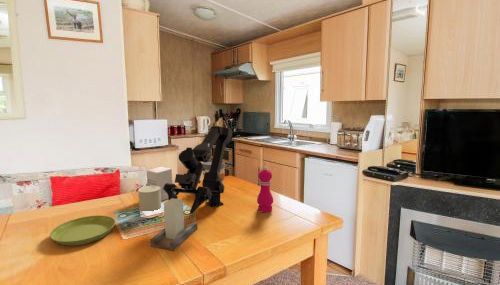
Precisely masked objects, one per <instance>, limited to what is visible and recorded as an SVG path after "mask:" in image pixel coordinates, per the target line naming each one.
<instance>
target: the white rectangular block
mask: <svg viewBox="0 0 500 285" xmlns="http://www.w3.org/2000/svg"><path fill="white" fill-rule="evenodd" d="M163 213H164V227H165V228H164V229H165V232H166V238H169V239H175V238H176V237H177V236H178V235H179V234H180V233H182V232H183V231H184V226H185V218H184V216H185V214H184V199H181V198H177V199H174V198H172V199H170V200H169V199H167V201H165V202H163Z"/></svg>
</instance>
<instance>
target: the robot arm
mask: <svg viewBox="0 0 500 285" xmlns="http://www.w3.org/2000/svg"><path fill="white" fill-rule="evenodd" d="M206 134H207V135H205V137H204V139H203V140H202V141H201V143H199V144H197V145H195V146H194V147H193V148H192V147H186V148H185V149H184V150H182V151H181V152H180V153H179V154H178V160H179V161H180V162H181V164H182V165H183V166H184V168H185V169H187V171H186V173H183V174H179V173H177V174H175V179H174V183H173V184H171V183H166V184H165V185H164V187H163V190H164V191H165V192H166V193H167V194H168V199H167V200H170V199H172V198H174V199H179V197H178V196H179V194H180V193H182V194H190V195H194V200H193V203H192V206H191V208H190V215H193V214H194V213H195V211H196V210H197V209H199V207H200V206H202V204H203V203H205V204H206V205H207V206H208V207H210V208H214V207H217V206H223V205H224V202H222V201H221V194H224V193H225V192H224V191H225V185H224V182H223V183H222V178H221V175H220V169H221V165H222V161H224V160H223V159H224V155H225V150H226V146H227V145H228V144H229V143H230V141H231V138H232V136H233V130H232V129H231V128H230V127H223V126H221V125H211V126H210V127H209V131H208V132H207V133H206ZM214 145H215V147H214ZM213 147H214V149H213ZM212 149H213V150H214V151H213V155H212ZM211 156H212V159H211ZM210 159H211V160H212V163H211V167H210V171H209V172H206V173H205V174H204V176H203V179H202V183H201V180H200V179H201V176H202V175H203V172H204V171H205V168H204V165H203V162H208V161H209V160H210ZM175 183H176V184H178V186H177V185H176V184H175ZM198 184H201V185H202V186H201V185H199V186H198Z"/></svg>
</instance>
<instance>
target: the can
mask: <svg viewBox="0 0 500 285" xmlns="http://www.w3.org/2000/svg"><path fill="white" fill-rule="evenodd" d="M160 189H161V188H160V187H159V186H148V185H147V186H142V187H140V188H138V190H137V194H138V202H139V205H138V206H139V212H140V211H154V210H158V209H160V208H161V207H162V201H161V190H160Z"/></svg>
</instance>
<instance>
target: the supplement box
mask: <svg viewBox="0 0 500 285" xmlns="http://www.w3.org/2000/svg"><path fill="white" fill-rule="evenodd" d="M172 171H173V169H172V168H168V167H165V166H159V167H154V168H150V169H146V171H145V172H146V182H147V186H159V187H160V188H161V189H160V190H161V202H163V201H166V200H169V199H168V194H167V193H166V192H165V191H164V190H163V187H164V185H165V184H166V183H171V184H174V183H173V172H172Z"/></svg>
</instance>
